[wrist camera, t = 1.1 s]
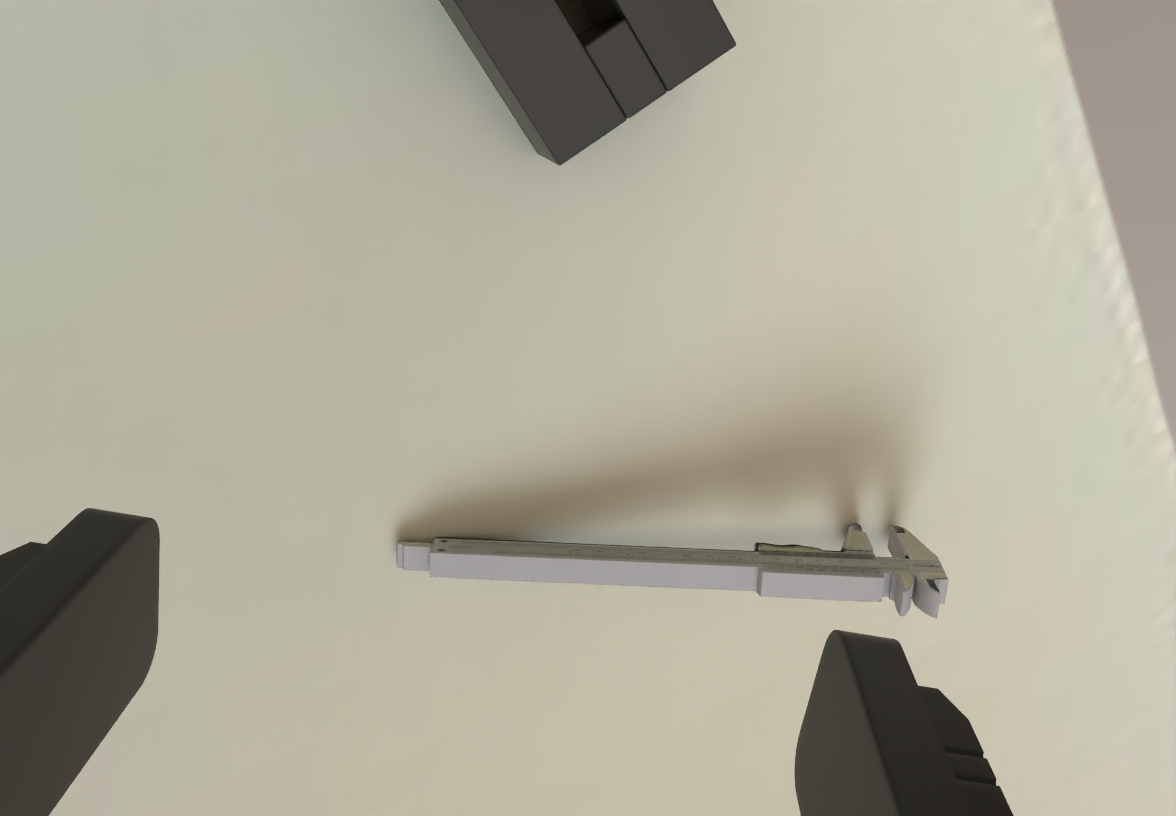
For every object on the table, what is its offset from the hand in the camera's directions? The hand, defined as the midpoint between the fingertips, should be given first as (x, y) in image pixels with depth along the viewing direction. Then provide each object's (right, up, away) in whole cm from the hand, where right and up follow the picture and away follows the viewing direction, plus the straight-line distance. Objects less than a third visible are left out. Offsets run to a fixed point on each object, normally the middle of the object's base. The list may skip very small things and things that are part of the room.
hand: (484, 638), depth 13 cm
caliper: (+4, -2, +30) cm, 30 cm away
